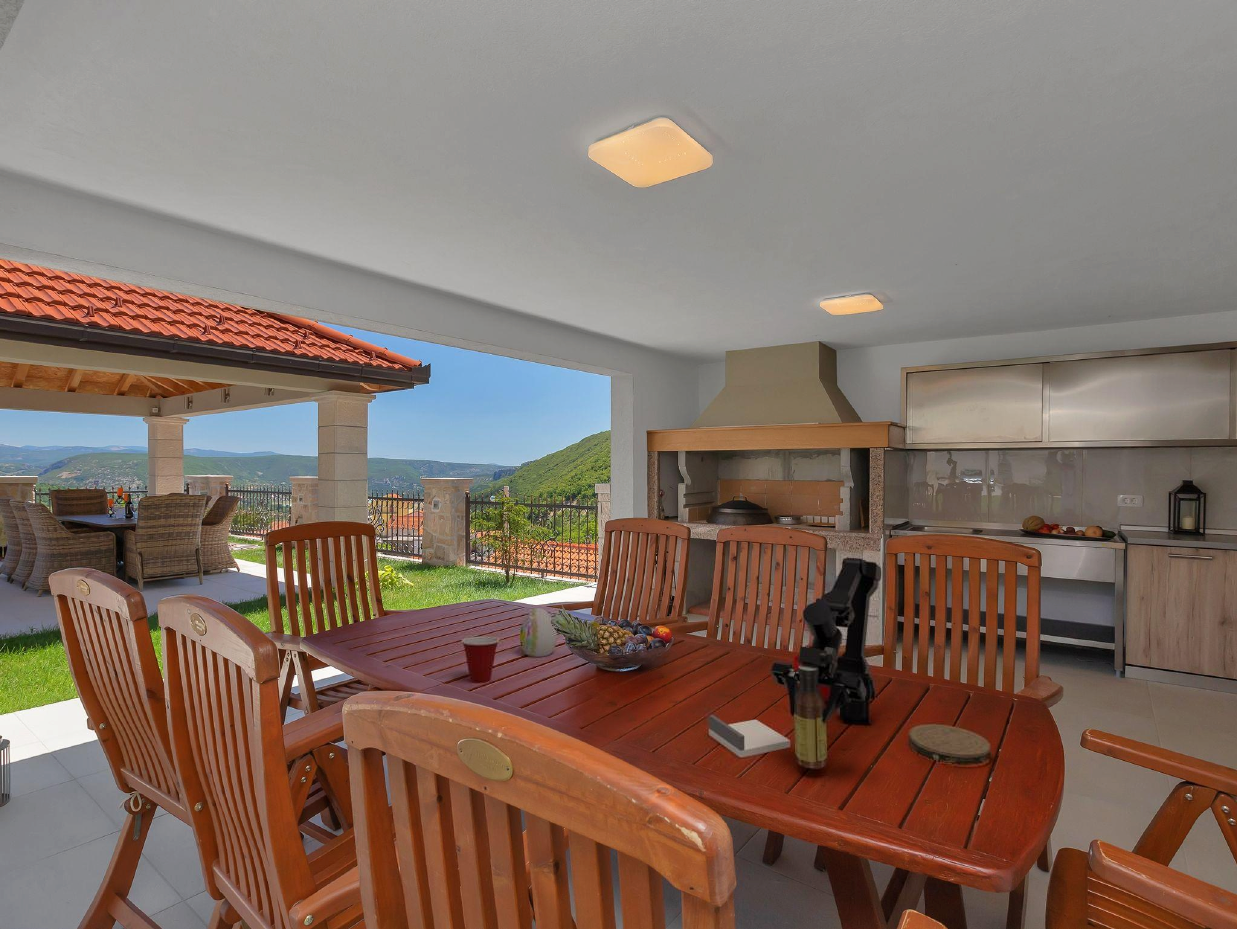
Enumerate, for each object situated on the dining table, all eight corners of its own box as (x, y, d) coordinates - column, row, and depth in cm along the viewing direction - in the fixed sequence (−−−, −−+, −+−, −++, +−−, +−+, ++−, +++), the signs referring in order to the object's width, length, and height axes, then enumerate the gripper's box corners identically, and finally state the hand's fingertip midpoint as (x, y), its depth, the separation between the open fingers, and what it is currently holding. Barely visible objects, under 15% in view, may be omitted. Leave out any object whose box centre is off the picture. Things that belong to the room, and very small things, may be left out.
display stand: (755, 725, 156) (755, 706, 156) (790, 747, 144) (790, 727, 144) (708, 734, 151) (708, 715, 151) (740, 757, 139) (740, 736, 139)
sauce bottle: (820, 756, 136) (821, 661, 136) (831, 770, 130) (832, 671, 130) (790, 756, 136) (790, 661, 136) (799, 771, 130) (799, 671, 130)
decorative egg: (517, 650, 220) (517, 605, 220) (552, 647, 224) (552, 603, 224) (523, 660, 209) (523, 613, 209) (560, 657, 212) (560, 611, 212)
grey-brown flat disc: (919, 731, 154) (919, 718, 154) (996, 749, 144) (996, 736, 144) (899, 755, 141) (899, 741, 141) (982, 777, 131) (982, 762, 131)
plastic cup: (504, 674, 195) (504, 634, 195) (493, 686, 185) (493, 644, 185) (468, 673, 196) (468, 633, 196) (456, 685, 186) (456, 643, 186)
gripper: (773, 624, 141) (752, 689, 133) (862, 637, 131) (846, 709, 122) (786, 651, 148) (768, 715, 139) (872, 665, 137) (858, 736, 128)
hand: (807, 718), depth 132 cm, fingers closed on sauce bottle, 6 cm apart
